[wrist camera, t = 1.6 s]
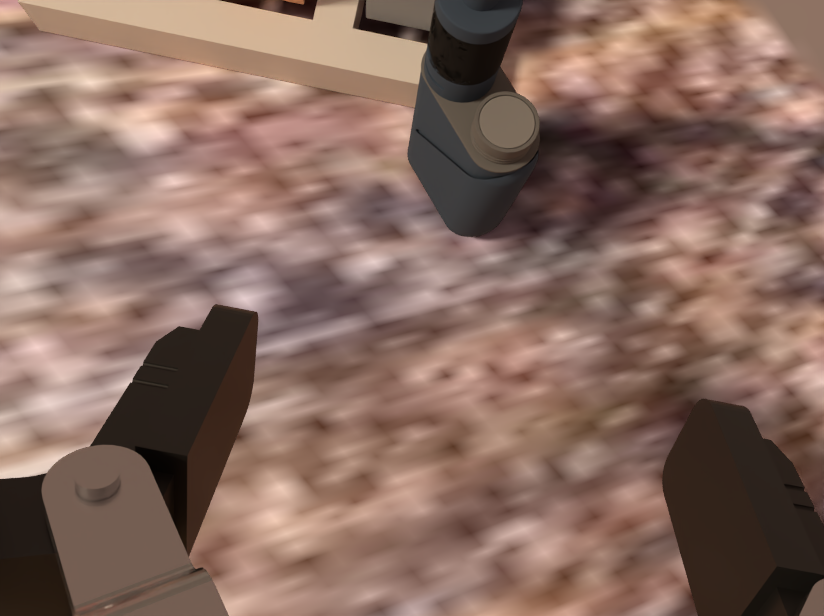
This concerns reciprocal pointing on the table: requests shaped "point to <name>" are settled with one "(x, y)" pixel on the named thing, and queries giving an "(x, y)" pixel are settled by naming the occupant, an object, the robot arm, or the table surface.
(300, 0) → the key mid
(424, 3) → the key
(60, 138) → the table surface
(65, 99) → the table surface
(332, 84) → the keypad base
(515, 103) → the vaping device
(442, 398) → the table surface
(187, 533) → the robot arm
